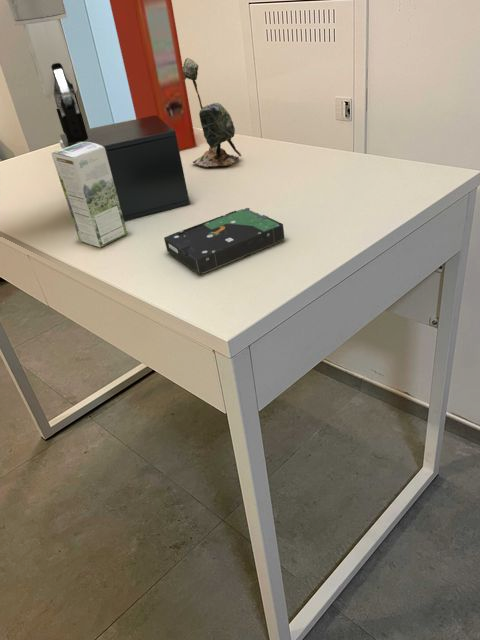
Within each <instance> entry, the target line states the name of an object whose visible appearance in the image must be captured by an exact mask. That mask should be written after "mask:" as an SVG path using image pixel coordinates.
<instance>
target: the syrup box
mask: <svg viewBox="0 0 480 640" xmlns="http://www.w3.org/2000/svg"><path fill="white" fill-rule="evenodd" d="M51 158H52V160H53V164H54V167H55V169H56V172H57V176H58V179H59V182H60V185H61V188H62V191H63V195H64V197H65V200H66V203H67V206H68V209H69V212H70V215H71V218H72V222H73V225H74V227H75V231H76V234H77V237H78V240H79V241H80V242H82V243H85V244H87V245H91V246H94V247H98V248H103V247H104V246H107V245H108V244H111V243H113V242H115V241H116V240H118V239H120V238H122V237H124V236H126V235H128V230H127V227H126V224H125V221H124V219H123V215H122V211H121V208H120V204H119V200H118V196H117V193H116V189H115V185H114V181H113V177H112V174H111V170H110V166H109V162H108V159H107V155H106V151H105V148H104V147H103V146H101V145H98V144H95V143H91V142H80V143H78V144H75V145H72V146H69V147H67V148H64V149H62V148H61V149H58V150H56V151H53V152H51Z"/></svg>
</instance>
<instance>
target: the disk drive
mask: <svg viewBox="0 0 480 640" xmlns="http://www.w3.org/2000/svg"><path fill="white" fill-rule="evenodd" d="M163 239H164V240H163V241H164V243H165V248H166V251H167V253H169V254H170V255H171V256H173V257H174V258H175V259H177V260H178V261H180V262H181V263H183V264H184V265H185V266H187V267H188V268H190V269H191V270H192V271H194V272H196V273H197V274H199V275H201V274H204V273H207V272H210V271H212V270H215V269H218V268H220V267H222V266H224V265H225V266H226V265H227V264H229V263H231V262H234V261H237V260H239V259H242V258H243V257H245V256H248V255H251V254H253V253H256V252H258V251H261V250H263V249H265V248H268V247H271V246H273V245H276V244H278V243H280V242H281V241H283V240H285V229H284V223H281V222H279V221H278V220H275V219H273V218H271V217H269V216H268V215H265V214H260V213H258V212H256V211H253V210H251V209H250V207H245V208H241V209H238V210H233V211H230V212H228V213H226V214H224V215H220V216H217V217H215V218H212V219H210V220H206V221H204V222H202V223H198V224H196V225H194V226H191V227H190V226H189V227H188V228H185V229H183V230H179V231H177V232H173V233H171V234H169V235H167V236H164V237H163Z"/></svg>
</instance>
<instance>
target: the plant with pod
mask: <svg viewBox="0 0 480 640" xmlns="http://www.w3.org/2000/svg"><path fill="white" fill-rule="evenodd" d="M198 71H199V64H198V63H196V62H195V60H193V59H191V58H190V57H187V58H185V59H184V62H183V68H182V73H183V74H184V79H183V81H185V82H186V79H187V80H191V81H192V83H193V86H194V89H195V92H196V94H197V98H198V101H199V106H200V110H199V113H198V115H199V122H200V124H201V128H202V132H203V137H204V138H205V140H206V144H208V146H209V147H208V150H206V151H205V152H204V153H203V154H202V155H201V156H200V157H198V158H197V159H195V160H194V161H192V164H194V165H197V166H201V167H204V168H208V167H220V166H221V167H230V166H233V165H234V164H235V163H237V162H238V161H239V159H240V157H242V152H240V151H239V150H238V149H237V147H236V146H235V144H234V143H233V141H232V138H234V137H235V133H236V128H235V125H234V121H233V120H232V116H231V114H230V113H229V112H228V110H227V109H226V108H225V107H224V105H223V104H222V103H219V102H213V103H210V104H207V105H205V106H203V105H202V104H203V103H202V100H201V96H200V93H199V91H198V84H197V80H198V74H199V73H198ZM225 142H227V143H228V144H229V145H230V147H231V148H232V150H233V151H234V152H235V153H236V154H237V155H238V156H236V155H233V154H230V153H227V151H226V150H225V149H224V148H222V147H221V144H222V143H225Z"/></svg>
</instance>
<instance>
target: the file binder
mask: <svg viewBox="0 0 480 640" xmlns="http://www.w3.org/2000/svg"><path fill="white" fill-rule="evenodd" d="M108 1H109V5H110V8H111V13H112V18H113V22H114V27H115V31H116V35H117V40H118V44H119V49H120V53H121V57H122V63H123V66H124V72H125V76H126V80H127V84H128V89H129V93H130V98H131V102H132V107H133V111H134V116H135V119H139V118H144V117H149V116H154V115H157V116H158V117H159V118H160V119H162V120H163V121H164V122H165V123H166V124H168V125H169V126H170V127H171V128H173V129H174V130H175V132H176V137H177V142H178V147H179V152H180V151H183V150H184V151H185V150H188V149H192V148H196V145H197V143H196V136H195V131H194V125H193V119H192V113H191V107H190V102H189V95H188V90H187V84H186V80H185V81H183V79H184V74H183V73H182V68H183V66H184V64H183V61H182V55H181V48H180V44H179V36H178V31H177V25H176V19H175V13H174V6H173V1H172V0H108Z"/></svg>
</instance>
